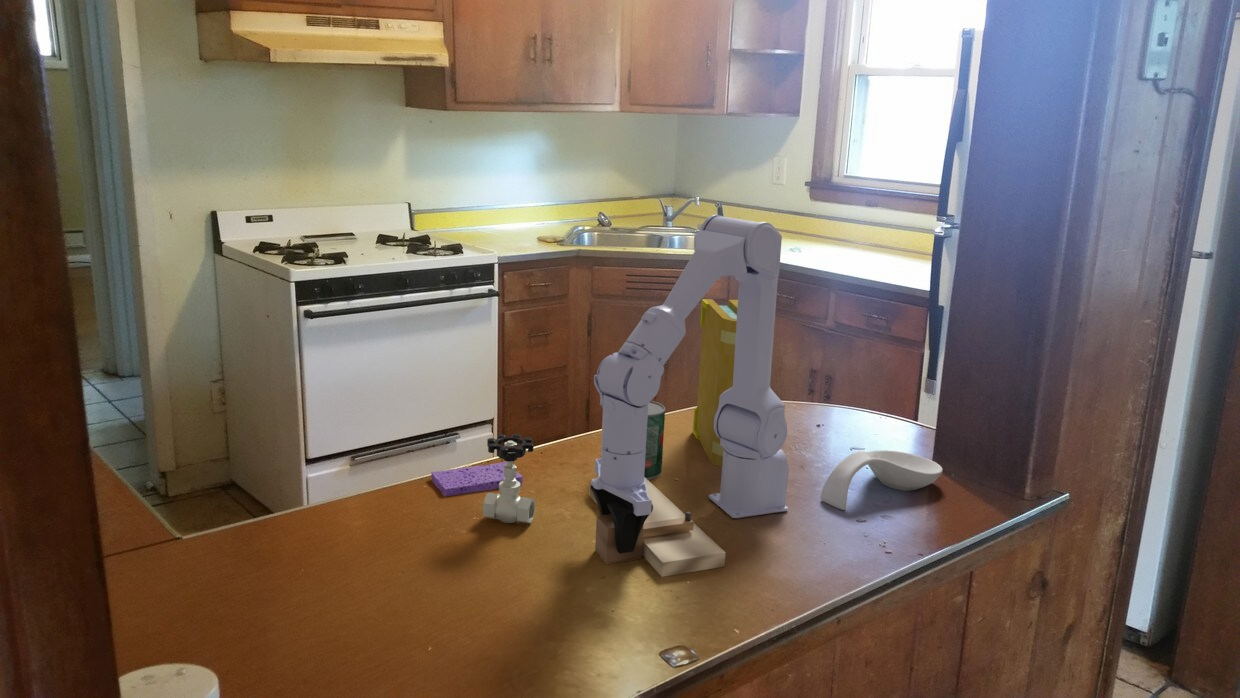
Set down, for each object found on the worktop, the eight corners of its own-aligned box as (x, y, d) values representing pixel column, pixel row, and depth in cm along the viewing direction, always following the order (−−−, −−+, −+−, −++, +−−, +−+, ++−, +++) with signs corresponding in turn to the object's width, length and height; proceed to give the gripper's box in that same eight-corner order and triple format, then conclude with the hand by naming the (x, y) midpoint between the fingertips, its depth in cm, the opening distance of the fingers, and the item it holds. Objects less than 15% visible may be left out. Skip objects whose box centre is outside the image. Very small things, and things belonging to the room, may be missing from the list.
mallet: (682, 537, 127) (685, 503, 126) (695, 550, 123) (698, 516, 122) (595, 550, 122) (596, 515, 121) (606, 564, 119) (607, 528, 117)
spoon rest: (893, 464, 158) (898, 425, 156) (954, 488, 149) (960, 446, 148) (802, 495, 144) (806, 452, 142) (864, 523, 135) (869, 477, 133)
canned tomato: (671, 471, 150) (675, 407, 147) (640, 484, 144) (644, 418, 141) (634, 458, 155) (638, 396, 152) (603, 470, 149) (606, 405, 146)
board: (643, 488, 143) (644, 476, 142) (724, 566, 119) (725, 552, 119) (589, 495, 139) (590, 483, 139) (661, 576, 116) (662, 562, 116)
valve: (524, 534, 126) (526, 452, 123) (478, 528, 127) (479, 447, 124) (538, 514, 132) (540, 436, 129) (494, 509, 133) (495, 431, 130)
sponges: (522, 487, 142) (523, 476, 142) (443, 499, 137) (443, 488, 136) (507, 471, 148) (507, 460, 148) (430, 482, 143) (430, 471, 142)
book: (692, 432, 169) (701, 299, 162) (728, 432, 169) (739, 299, 163) (711, 467, 152) (722, 321, 146) (750, 467, 153) (763, 321, 147)
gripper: (575, 430, 122) (571, 523, 126) (616, 471, 109) (611, 573, 113) (623, 425, 125) (619, 517, 128) (669, 464, 112) (663, 565, 116)
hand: (618, 543), depth 121 cm, fingers closed on mallet, 4 cm apart
